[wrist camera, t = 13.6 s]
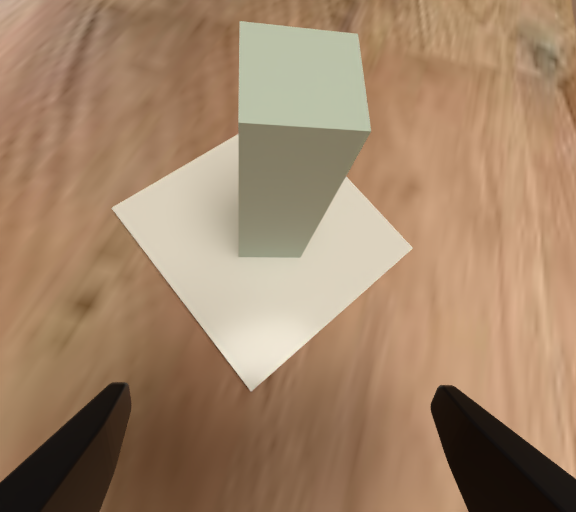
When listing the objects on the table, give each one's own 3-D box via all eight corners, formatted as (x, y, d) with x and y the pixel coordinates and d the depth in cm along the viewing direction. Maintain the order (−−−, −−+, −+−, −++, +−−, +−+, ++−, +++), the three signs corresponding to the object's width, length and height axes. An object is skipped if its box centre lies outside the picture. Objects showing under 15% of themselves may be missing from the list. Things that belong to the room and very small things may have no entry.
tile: (250, 390, 22) (251, 391, 21) (115, 212, 25) (111, 207, 24) (408, 251, 27) (412, 248, 26) (281, 114, 29) (282, 108, 29)
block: (238, 257, 24) (238, 122, 11) (239, 200, 25) (239, 21, 12) (300, 257, 25) (371, 131, 12) (297, 202, 26) (357, 33, 13)
